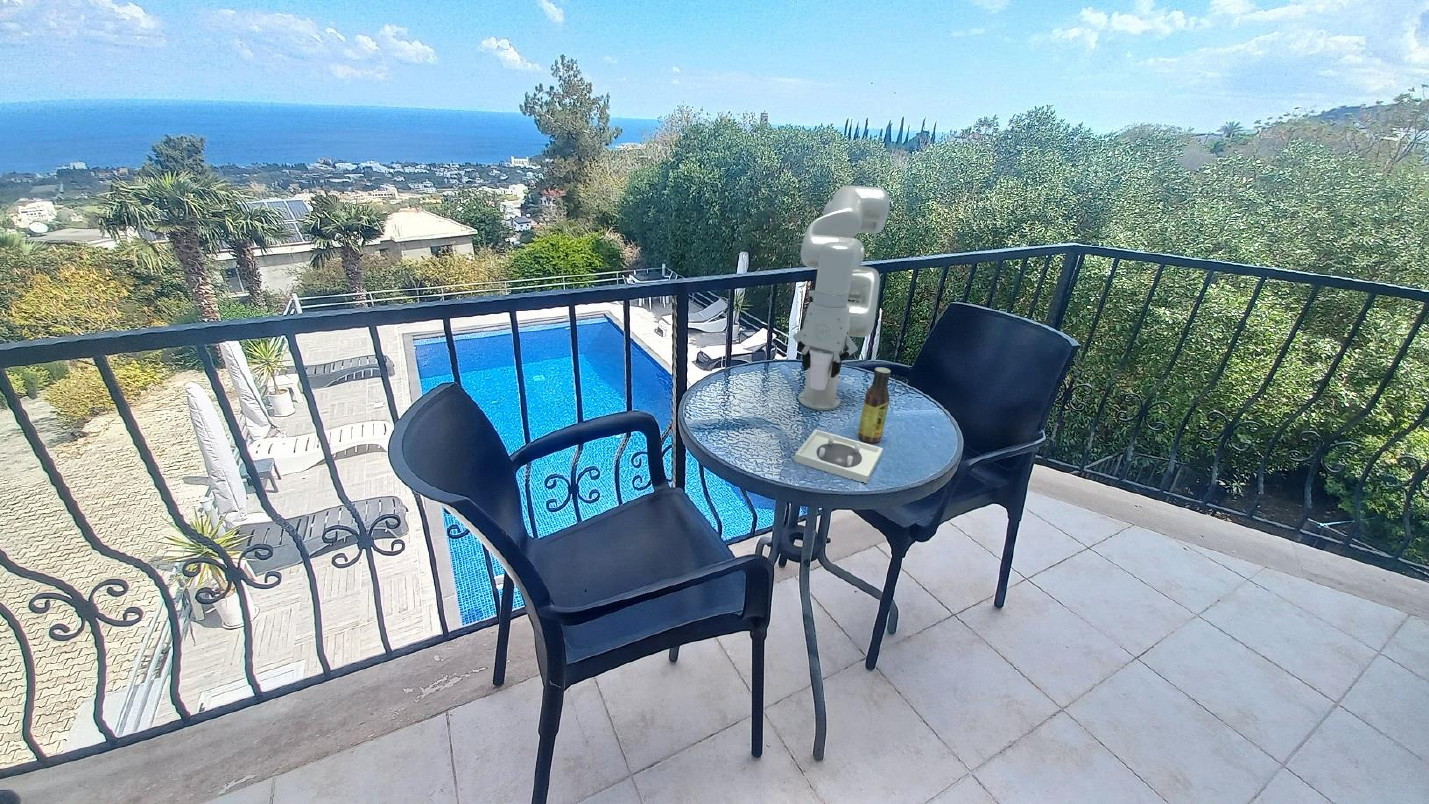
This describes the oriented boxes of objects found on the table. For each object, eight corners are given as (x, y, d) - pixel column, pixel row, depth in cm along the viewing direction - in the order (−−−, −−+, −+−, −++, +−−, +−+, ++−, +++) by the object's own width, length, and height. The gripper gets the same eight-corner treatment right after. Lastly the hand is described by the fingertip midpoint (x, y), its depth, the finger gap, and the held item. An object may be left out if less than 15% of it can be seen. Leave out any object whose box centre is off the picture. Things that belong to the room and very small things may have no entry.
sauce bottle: (876, 446, 142) (891, 377, 133) (854, 439, 144) (866, 371, 136) (884, 436, 147) (898, 369, 138) (861, 429, 150) (874, 363, 141)
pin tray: (814, 436, 145) (815, 424, 143) (881, 455, 138) (883, 443, 136) (794, 461, 133) (795, 449, 131) (866, 484, 126) (868, 471, 124)
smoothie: (833, 384, 133) (841, 330, 127) (828, 394, 127) (837, 338, 121) (807, 379, 135) (815, 326, 129) (802, 389, 129) (809, 333, 123)
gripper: (788, 295, 122) (780, 368, 130) (863, 310, 115) (850, 386, 123) (801, 289, 128) (793, 359, 136) (873, 302, 121) (860, 376, 128)
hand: (820, 371), depth 129 cm, fingers closed on smoothie, 6 cm apart
